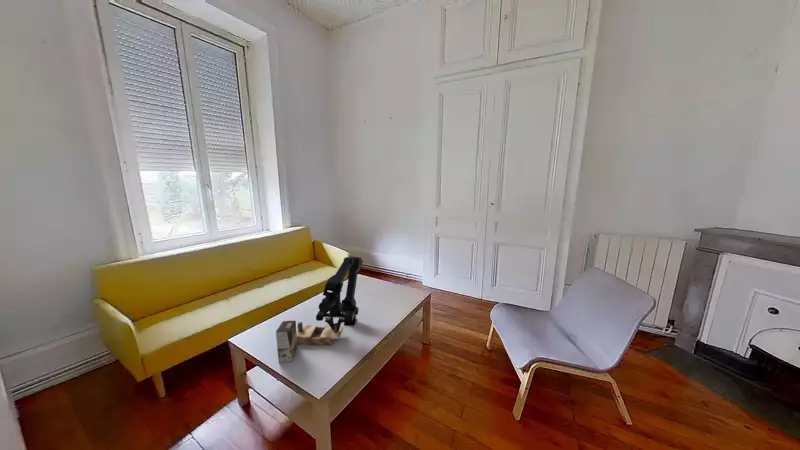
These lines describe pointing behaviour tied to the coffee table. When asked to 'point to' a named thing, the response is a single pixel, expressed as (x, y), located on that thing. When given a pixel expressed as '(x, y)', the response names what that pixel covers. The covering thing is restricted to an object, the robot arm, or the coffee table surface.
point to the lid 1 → (305, 330)
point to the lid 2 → (332, 332)
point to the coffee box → (286, 341)
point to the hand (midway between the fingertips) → (336, 330)
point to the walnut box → (315, 339)
